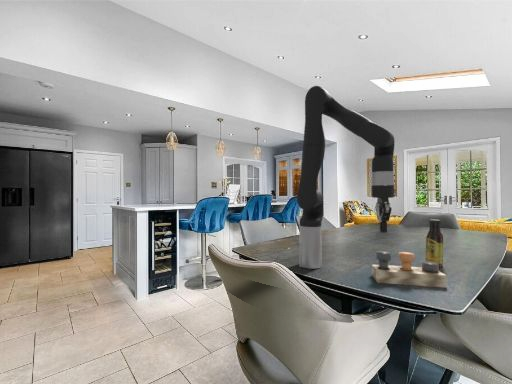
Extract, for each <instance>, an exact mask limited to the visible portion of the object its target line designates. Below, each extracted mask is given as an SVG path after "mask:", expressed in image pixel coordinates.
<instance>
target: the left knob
mask: <svg viewBox="0 0 512 384" xmlns="http://www.w3.org/2000/svg"><path fill="white" fill-rule="evenodd" d="M391 256H392V252H391V251H386V250H377V251H375V257H376V258H375V259H376V260H378V265H379V269H380V270H388V265H389V262H390V261H391V260H392V257H391Z"/></svg>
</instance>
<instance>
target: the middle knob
mask: <svg viewBox="0 0 512 384" xmlns="http://www.w3.org/2000/svg"><path fill="white" fill-rule="evenodd" d="M398 261H401V263H400V264H401V265H400V266H402V271H411V267H412V263H414V262H415V253H413V252H407V251H399V252H398Z"/></svg>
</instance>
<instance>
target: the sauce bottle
mask: <svg viewBox="0 0 512 384" xmlns="http://www.w3.org/2000/svg"><path fill="white" fill-rule="evenodd" d="M428 222H429V229H428V232H427V234H426V236H425V262H434V263H437V264H438V265H439V268H442V267H443V265H444V264H443V263H444V235H443V234H442V232H441V224H442V221H441V220H440V219H429V220H428Z"/></svg>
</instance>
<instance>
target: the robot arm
mask: <svg viewBox="0 0 512 384" xmlns="http://www.w3.org/2000/svg"><path fill="white" fill-rule="evenodd" d="M304 98H305V99H304V116H305V117H304V118H305V119H304V129H303V132H304V133H303V142H302V151H301V167H300V178H299V179H300V180H299V184H298V190H297V196H296V203H297V206H299V208H300V209H301V210H302V215H301V217H300V219H299V245H298V259H299V260H298V263H299V264H298V265H299V268H303V269H313V270H314V269H315V270H316V269H320V268H322V264H323V263H322V262H323V259H322V221H323V218H324V197H323V194H322V193H321V191H320V190H318V178H319V177H318V176H319V173H320V171H321V168H322V166H323V163H324V160H325V152H326V138H325V132H324V127H323V115H324V116H327V117H329V118H331V119H332V120H334V121H336V122H337V123H339V125H341V126H342V127H343V128H345V129H346V130H348V131H349V132H351V133H352V134H354V135H355V136H357V137H359V138H362V139H363V140H364V141H365V142H366V143H367V144H369V145H371V146H372V147H374V149H373V151H374V152H373V153H374V154H373V155H374V156H373V158H372V159H371V178H370V182H371V183H370V184H371V190H370V191H371V194H370V195H371V198H377V201H376V202H375V207H374V208H375V213H376V218H377V220H378V225H379V229H378V230H379V232H380V233H384V234H385V233H387V232H388V222H390V217H391V214H392V207H391V203H390V200H389V199H390V198H394V197H395V174H394V154H395V143H396V142H395V135H393V133H392V132H390V131H389V130H388V129H387V128H385V127H383V126H382V125H379V124H378V123H375V122H373V121H372V120H370V119H369V118H368V117H366V116H364V115H362V114H361V113H359V112H357V111H355V110H352V109H351V108H348V107H345V106H344V105H342V104H341V103H340V102H338V101H337V100H336V99H335V98H334V97H333V96H332V95H331V94H330V93H329V91H327V89H325V88H323V87H322V86H319V85H313V86H311V87H310V88H309V89H308V90H307V93H306V95H305V97H304Z"/></svg>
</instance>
